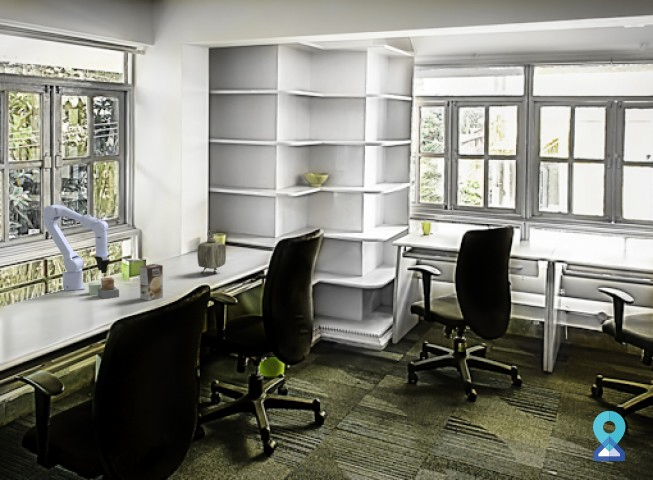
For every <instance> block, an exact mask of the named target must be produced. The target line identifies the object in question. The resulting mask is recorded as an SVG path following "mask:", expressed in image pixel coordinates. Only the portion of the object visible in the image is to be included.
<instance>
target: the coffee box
mask: <svg viewBox="0 0 653 480" xmlns="http://www.w3.org/2000/svg"><path fill="white" fill-rule="evenodd" d="M163 268H164V266H163V265H161V264H157V263H153V264H148V265H141V266H139V276H140V277H139V284H140V285H139V288H140V289H139V290H140V291H139V292H140V293H139V294H140V300H144V301H148V302H149V301H150V302H151V301H153V300H158V299H161V298H164V285H163V283H164V279H163V278H164V277H163V276H164V274H163V273H164V272H163V270H164V269H163Z"/></svg>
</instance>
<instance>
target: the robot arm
mask: <svg viewBox="0 0 653 480" xmlns="http://www.w3.org/2000/svg"><path fill="white" fill-rule="evenodd" d="M42 216H43V221H44V226H45V228H46V230H47V232H48V234H49V235H50V236H51V237H50V238H52V240H53V242H54V243H55V246H56V247H57V249H58V250H59V251H60V253H61V254H62V257H63V258H62V262H63V265H64V268H65V270H66V271H64V272H62V288H63V290H64V291H65V292H69V291H78V290H85V289H86V287H85V286H84V285H83V284H84V281H83V267H84V265H85V260H84V259H83V258H82V257H81V256H80V255H79V254H78V252H76V251H74V250H73V249H72V246H71V245H70V243H69V242H68V240H67V239H66V237H65V235H64V233H63V231H62V230H61V229H60V226H59V225H58V222H59V220H60V218H61V217H67V218H70V219H72V220H75V221H78V222H79V223H80V225H81V226H83V227H84V228H85V227H86V228H88V229H90V230H92V231H93V232H94V241H95V244H94V245H95V254H94V256H93V257H94V260H95V261H96V265H97V268H98V271H100V272H101V274H106V273H107V271H108V266H109V264H110V262H111V260H110V259H108V256H110V255H111V253H110V252H108V230H109V227H110V226H109V223H108V222H107V221H106V220H103V219H102V220H100V218H96V217H93V216H92V215H91V214H84V215H83V214H81V213H78V212H76V211H74V210H73V209H71V208H69V207H66V206H65V205H64V204H63V205H62V204H60V203H54V204H52V205H46V207H44V209H43V212H42Z"/></svg>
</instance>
